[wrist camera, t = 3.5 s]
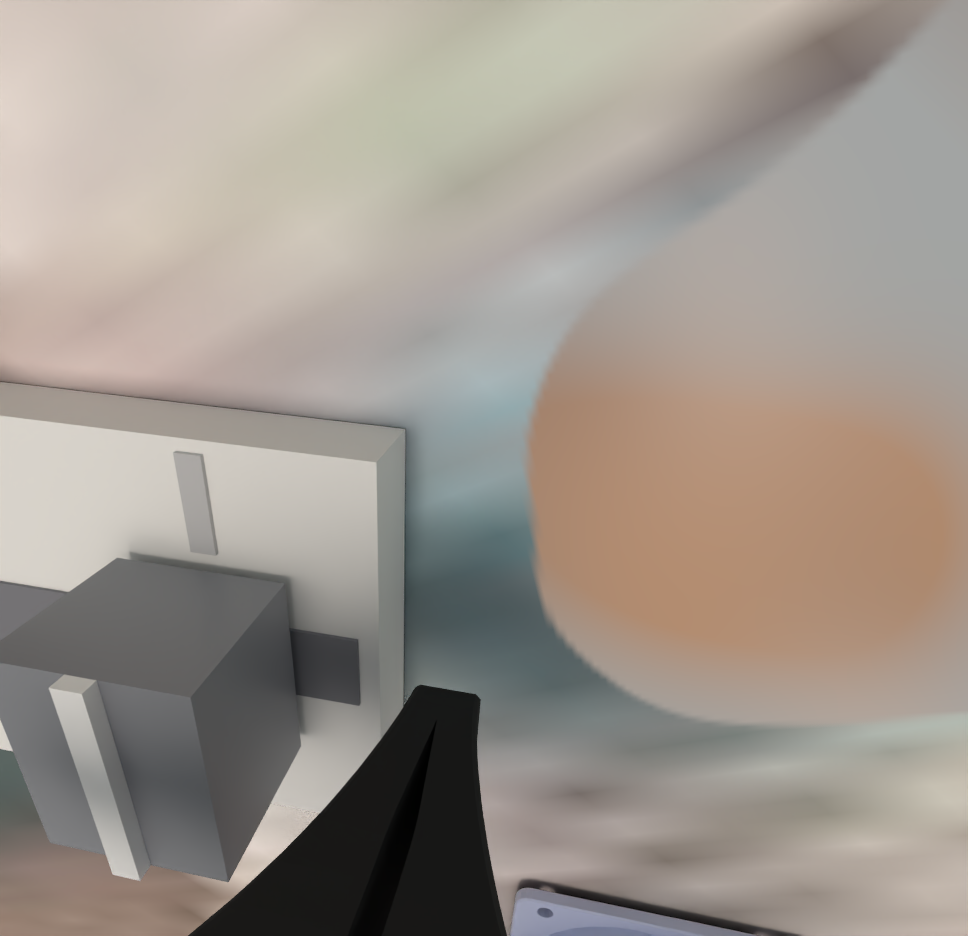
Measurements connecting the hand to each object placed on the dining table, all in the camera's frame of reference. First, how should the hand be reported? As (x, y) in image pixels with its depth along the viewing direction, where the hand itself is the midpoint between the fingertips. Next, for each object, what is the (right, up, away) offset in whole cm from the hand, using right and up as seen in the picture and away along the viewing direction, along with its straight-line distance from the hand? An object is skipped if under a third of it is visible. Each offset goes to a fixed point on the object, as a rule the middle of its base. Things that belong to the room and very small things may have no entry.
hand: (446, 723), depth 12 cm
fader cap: (-6, +1, +1) cm, 6 cm away
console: (-10, +2, +4) cm, 11 cm away
